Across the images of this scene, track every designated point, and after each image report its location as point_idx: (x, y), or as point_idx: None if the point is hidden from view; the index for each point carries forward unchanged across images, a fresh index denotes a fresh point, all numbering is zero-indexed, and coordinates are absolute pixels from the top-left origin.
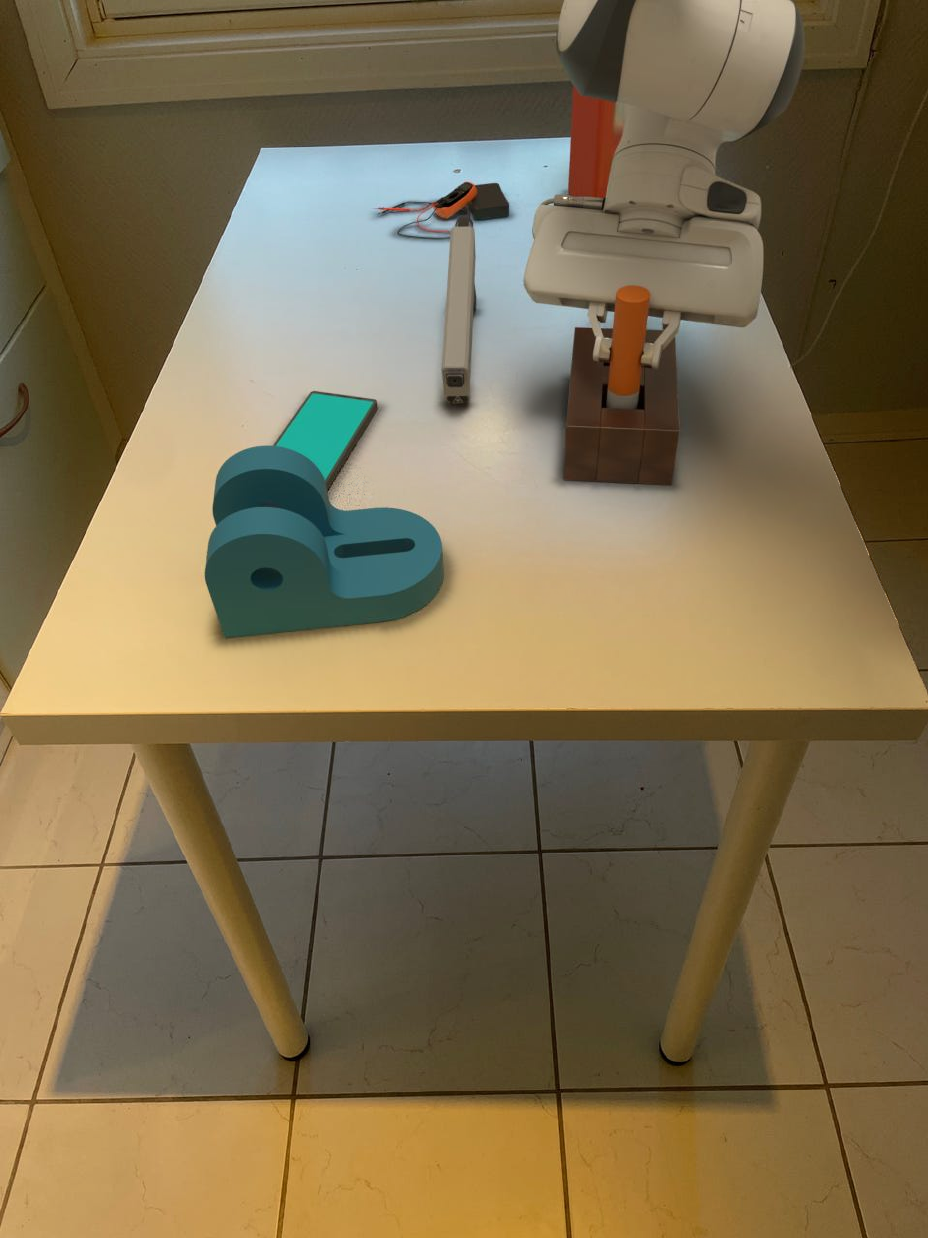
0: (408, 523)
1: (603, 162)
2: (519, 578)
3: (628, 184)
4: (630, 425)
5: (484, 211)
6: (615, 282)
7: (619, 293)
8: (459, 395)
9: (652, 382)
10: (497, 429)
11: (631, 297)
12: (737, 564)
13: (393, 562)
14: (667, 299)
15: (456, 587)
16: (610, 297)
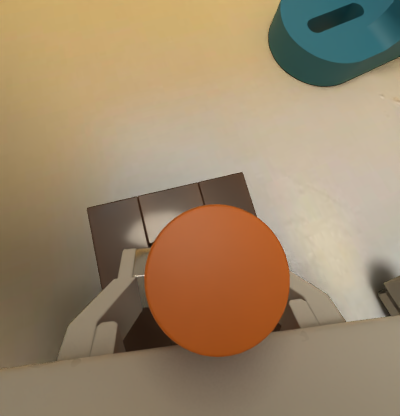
0: (327, 48)
1: None
2: (215, 66)
3: None
4: (159, 199)
5: None
6: (324, 394)
7: (273, 258)
8: (393, 278)
9: (153, 324)
10: (322, 257)
11: (216, 237)
12: (27, 129)
13: (313, 7)
14: (92, 377)
15: (257, 46)
16: (301, 334)
